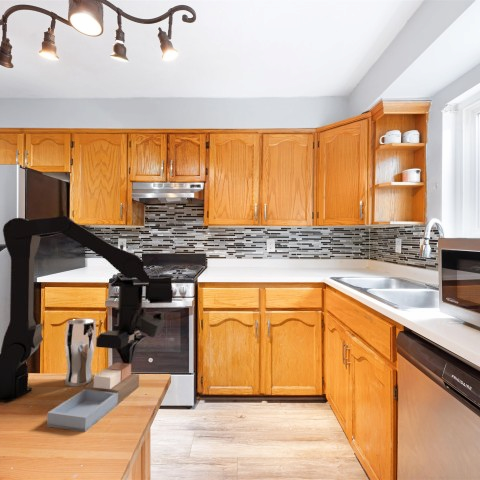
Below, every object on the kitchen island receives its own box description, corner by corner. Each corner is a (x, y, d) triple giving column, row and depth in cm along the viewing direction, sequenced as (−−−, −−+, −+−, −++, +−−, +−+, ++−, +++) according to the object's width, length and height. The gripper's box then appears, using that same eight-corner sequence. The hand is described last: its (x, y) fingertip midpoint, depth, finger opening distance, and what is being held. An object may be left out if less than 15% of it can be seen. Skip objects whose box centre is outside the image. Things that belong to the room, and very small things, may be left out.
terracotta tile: (105, 379, 72) (106, 368, 72) (115, 372, 76) (116, 362, 76) (121, 380, 71) (122, 369, 71) (130, 374, 75) (131, 363, 75)
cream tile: (93, 387, 67) (93, 375, 67) (104, 380, 71) (105, 369, 71) (110, 389, 67) (110, 377, 67) (120, 381, 71) (120, 370, 71)
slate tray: (46, 426, 57) (47, 412, 57) (84, 400, 68) (84, 388, 68) (85, 431, 56) (85, 417, 56) (117, 404, 66) (118, 392, 66)
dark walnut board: (84, 400, 68) (84, 386, 68) (108, 383, 76) (109, 371, 76) (117, 404, 66) (118, 390, 66) (138, 386, 75) (139, 374, 75)
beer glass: (56, 383, 76) (59, 321, 77) (82, 373, 82) (85, 317, 83) (74, 389, 73) (77, 325, 73) (100, 379, 79) (102, 320, 79)
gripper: (141, 312, 68) (138, 385, 67) (174, 300, 86) (172, 357, 85) (96, 309, 70) (92, 380, 69) (137, 298, 88) (135, 353, 87)
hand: (127, 366), depth 77 cm, fingers closed
